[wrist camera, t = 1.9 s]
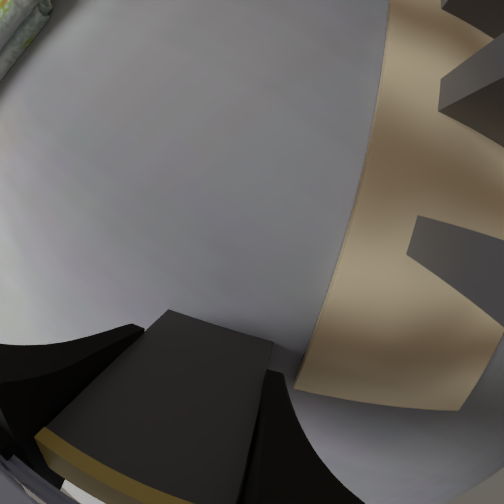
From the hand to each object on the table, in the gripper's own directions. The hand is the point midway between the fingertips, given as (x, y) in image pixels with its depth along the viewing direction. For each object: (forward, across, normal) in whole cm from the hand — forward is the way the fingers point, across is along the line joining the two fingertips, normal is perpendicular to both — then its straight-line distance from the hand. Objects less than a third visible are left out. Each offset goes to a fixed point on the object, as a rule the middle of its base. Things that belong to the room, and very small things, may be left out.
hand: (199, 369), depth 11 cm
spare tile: (+2, 0, 0) cm, 2 cm away
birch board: (+2, -9, -16) cm, 19 cm away
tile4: (+2, -9, -19) cm, 21 cm away
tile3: (+2, -9, -13) cm, 16 cm away
